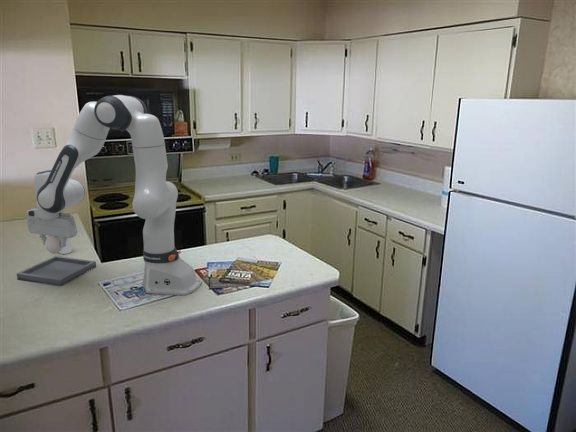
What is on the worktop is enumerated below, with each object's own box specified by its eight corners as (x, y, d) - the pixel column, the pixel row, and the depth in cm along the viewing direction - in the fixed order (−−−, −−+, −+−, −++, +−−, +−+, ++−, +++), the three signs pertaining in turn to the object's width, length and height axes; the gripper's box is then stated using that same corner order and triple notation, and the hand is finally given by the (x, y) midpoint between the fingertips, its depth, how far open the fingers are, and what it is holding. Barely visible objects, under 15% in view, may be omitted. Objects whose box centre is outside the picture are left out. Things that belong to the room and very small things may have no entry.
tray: (96, 266, 183) (95, 261, 182) (60, 286, 164) (60, 280, 163) (56, 261, 188) (55, 255, 187) (17, 279, 169) (16, 273, 168)
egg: (59, 248, 178) (57, 230, 176) (67, 252, 174) (65, 233, 172) (43, 252, 173) (40, 233, 171) (50, 256, 169) (48, 237, 167)
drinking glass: (67, 255, 194) (63, 223, 190) (53, 254, 195) (49, 222, 191) (77, 250, 200) (73, 219, 196) (64, 249, 202) (60, 218, 198)
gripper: (79, 212, 169) (82, 246, 173) (35, 207, 174) (39, 240, 178) (67, 216, 163) (71, 251, 167) (22, 211, 168) (27, 245, 172)
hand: (54, 245), depth 173 cm, fingers closed on egg, 6 cm apart
